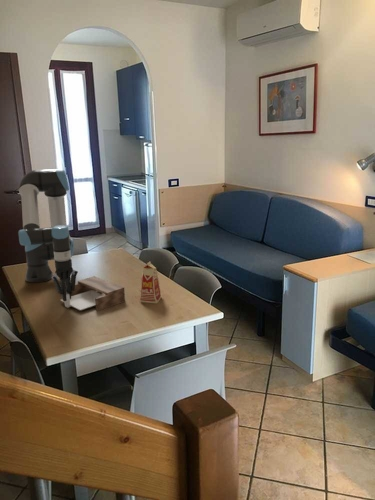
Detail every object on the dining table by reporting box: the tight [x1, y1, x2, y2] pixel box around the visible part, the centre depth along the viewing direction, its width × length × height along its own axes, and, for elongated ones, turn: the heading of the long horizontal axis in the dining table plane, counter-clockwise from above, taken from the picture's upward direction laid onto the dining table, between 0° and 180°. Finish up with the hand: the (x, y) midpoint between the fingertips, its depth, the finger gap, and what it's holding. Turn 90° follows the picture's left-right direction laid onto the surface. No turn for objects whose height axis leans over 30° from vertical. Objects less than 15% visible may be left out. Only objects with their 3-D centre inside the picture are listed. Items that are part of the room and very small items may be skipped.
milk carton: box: [138, 261, 162, 304], centre depth 203 cm, size 9×9×20 cm
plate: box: [60, 290, 104, 312], centre depth 203 cm, size 19×19×2 cm
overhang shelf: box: [71, 275, 126, 312], centre depth 207 cm, size 16×26×7 cm, turn 46°
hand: (67, 306), depth 196 cm, fingers closed
